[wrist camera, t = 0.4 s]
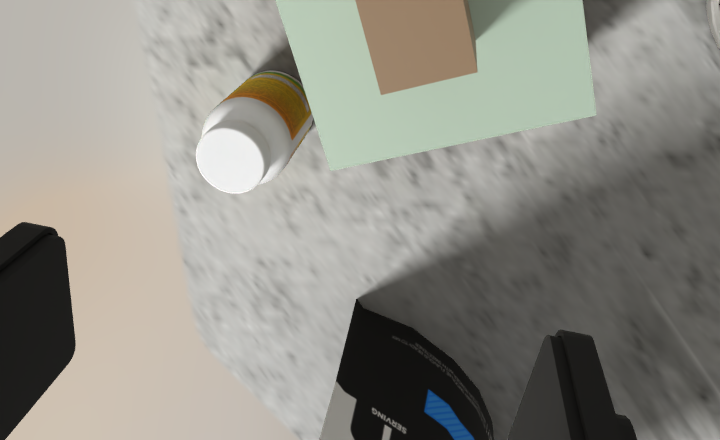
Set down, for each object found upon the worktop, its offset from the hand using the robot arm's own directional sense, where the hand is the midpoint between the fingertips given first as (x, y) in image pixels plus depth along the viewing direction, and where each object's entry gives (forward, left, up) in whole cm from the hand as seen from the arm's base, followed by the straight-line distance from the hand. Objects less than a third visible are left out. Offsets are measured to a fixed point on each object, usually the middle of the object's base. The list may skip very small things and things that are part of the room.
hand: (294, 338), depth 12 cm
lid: (-2, -2, -23) cm, 23 cm away
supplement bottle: (+10, +3, -31) cm, 33 cm away
